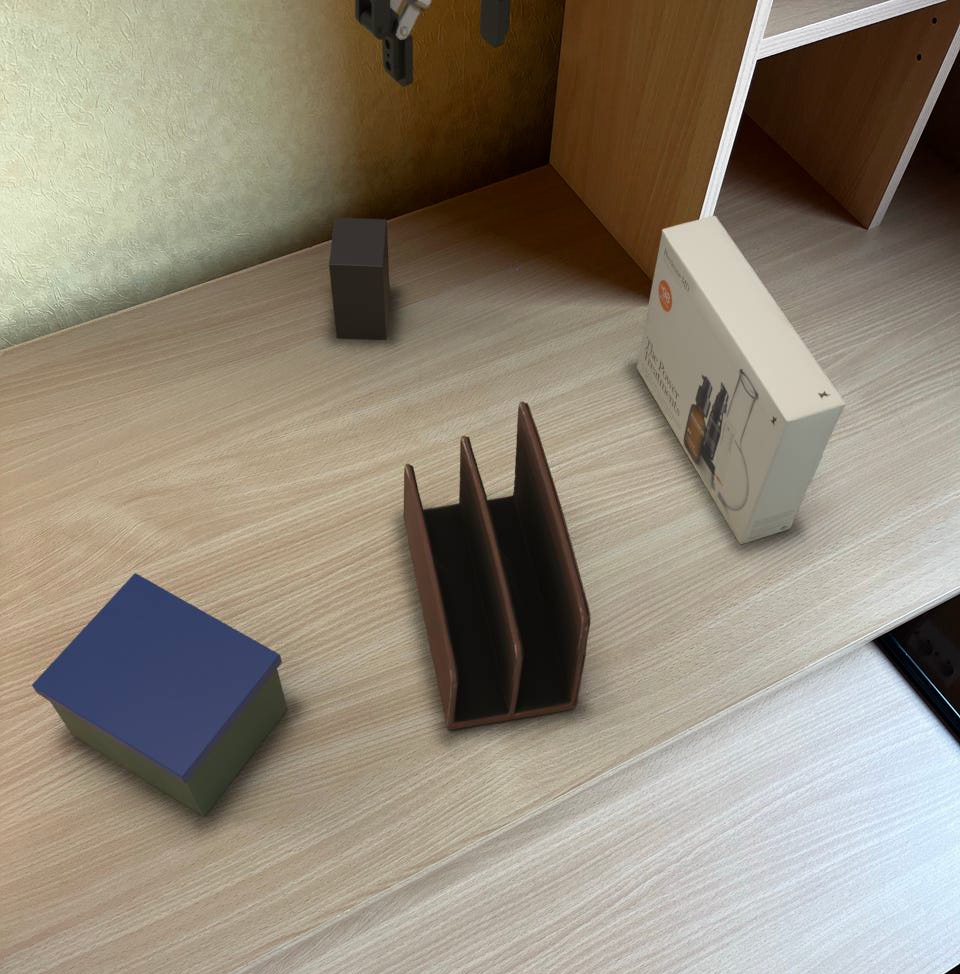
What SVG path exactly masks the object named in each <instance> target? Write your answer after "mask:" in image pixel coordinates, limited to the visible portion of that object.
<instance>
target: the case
mask: <svg viewBox="0 0 960 974" xmlns="http://www.w3.org/2000/svg"><path fill="white" fill-rule="evenodd" d="M388 241H389V240H388V220H387V219H382V218H381V219H379V218H356V217H355V218H353V217H334V219H333V227H332V236H331V242H330V243H331V244H330V251H329V260H328V268H329V269H328V270H329V279H330V288H331V289H330V290H331V299H332V308H333V318H334V328H335V337H336V338H337V339H358V340H381V341H382V340H385V341H387V337H388V326H389V325H388V323H389V310H390V299H391V288H390V287H391V286H390V266H389V265H390V264H389V242H388Z"/></svg>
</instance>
